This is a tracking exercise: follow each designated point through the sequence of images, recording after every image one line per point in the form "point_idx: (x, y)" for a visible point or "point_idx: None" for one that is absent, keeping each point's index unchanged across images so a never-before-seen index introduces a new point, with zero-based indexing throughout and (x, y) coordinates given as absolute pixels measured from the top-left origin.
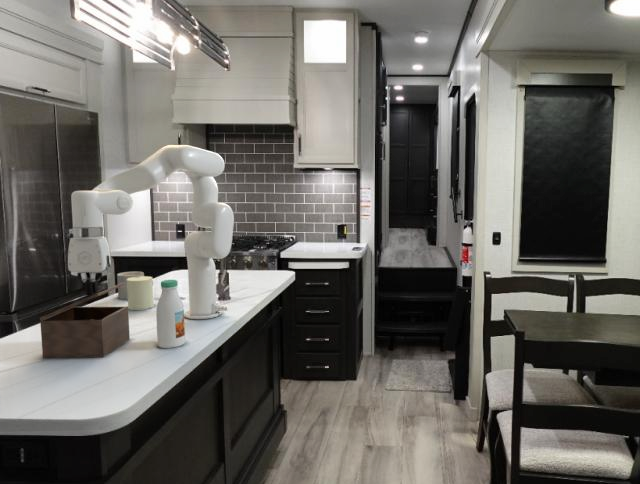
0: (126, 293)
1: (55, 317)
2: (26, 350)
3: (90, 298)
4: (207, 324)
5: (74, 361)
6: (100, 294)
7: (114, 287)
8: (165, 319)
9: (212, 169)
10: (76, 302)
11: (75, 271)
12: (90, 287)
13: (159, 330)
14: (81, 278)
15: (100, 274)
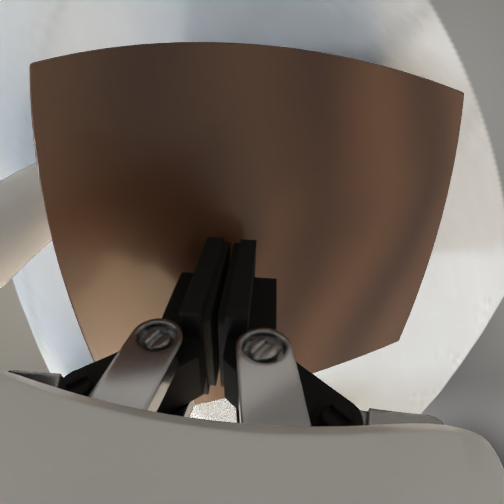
0: None
1: None
2: (460, 174)
3: (104, 49)
4: (69, 338)
5: (261, 36)
6: (34, 103)
7: (81, 325)
8: None
9: None
10: (242, 43)
11: (381, 430)
12: (199, 275)
13: (26, 182)
14: (312, 379)
15: (62, 388)
